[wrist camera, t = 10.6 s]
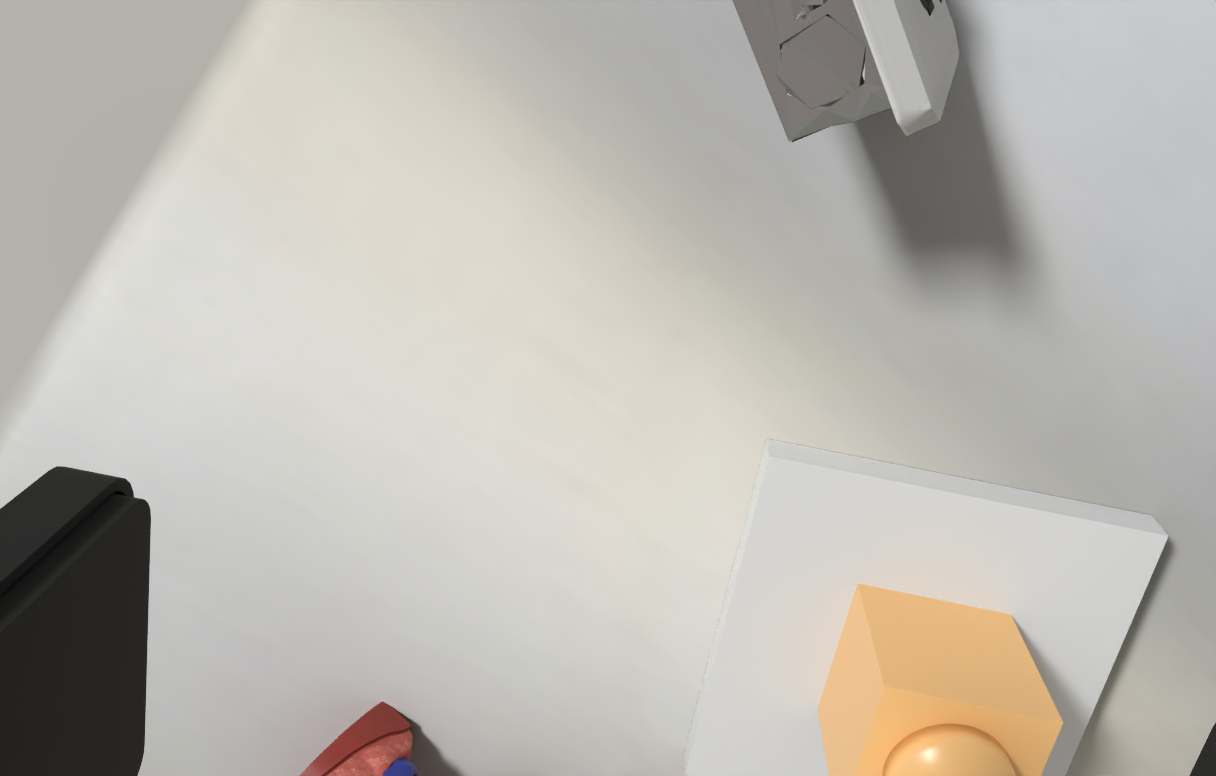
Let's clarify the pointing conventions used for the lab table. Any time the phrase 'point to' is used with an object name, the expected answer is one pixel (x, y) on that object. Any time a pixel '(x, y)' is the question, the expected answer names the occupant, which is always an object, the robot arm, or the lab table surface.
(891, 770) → the orange cube with hemisphere
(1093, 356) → the lab table surface
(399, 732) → the teeth model
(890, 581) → the plate
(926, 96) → the electrical switch
